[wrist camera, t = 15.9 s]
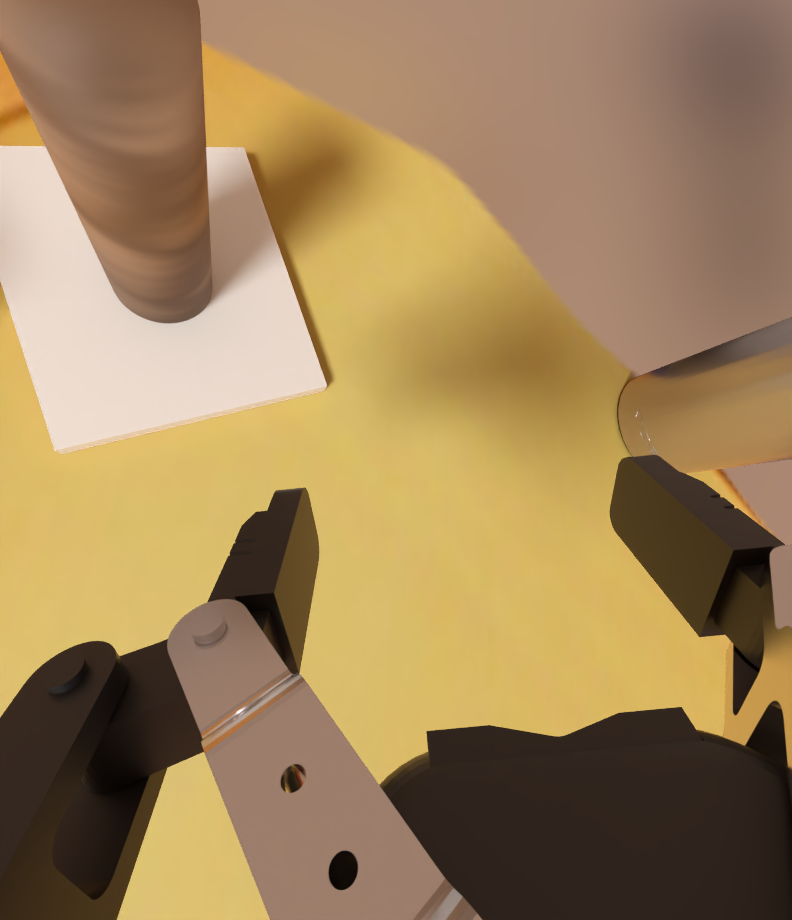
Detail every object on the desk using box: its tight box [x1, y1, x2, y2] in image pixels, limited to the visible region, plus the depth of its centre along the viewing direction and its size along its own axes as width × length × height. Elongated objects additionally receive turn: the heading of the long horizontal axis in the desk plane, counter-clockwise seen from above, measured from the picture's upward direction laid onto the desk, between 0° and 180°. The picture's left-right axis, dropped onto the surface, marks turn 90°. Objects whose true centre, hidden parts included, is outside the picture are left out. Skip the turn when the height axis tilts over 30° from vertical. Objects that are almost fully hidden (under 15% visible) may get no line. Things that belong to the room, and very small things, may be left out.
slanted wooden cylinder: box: [0, 0, 212, 324], centre depth 17 cm, size 5×5×14 cm
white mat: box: [0, 146, 327, 454], centre depth 24 cm, size 14×16×1 cm
